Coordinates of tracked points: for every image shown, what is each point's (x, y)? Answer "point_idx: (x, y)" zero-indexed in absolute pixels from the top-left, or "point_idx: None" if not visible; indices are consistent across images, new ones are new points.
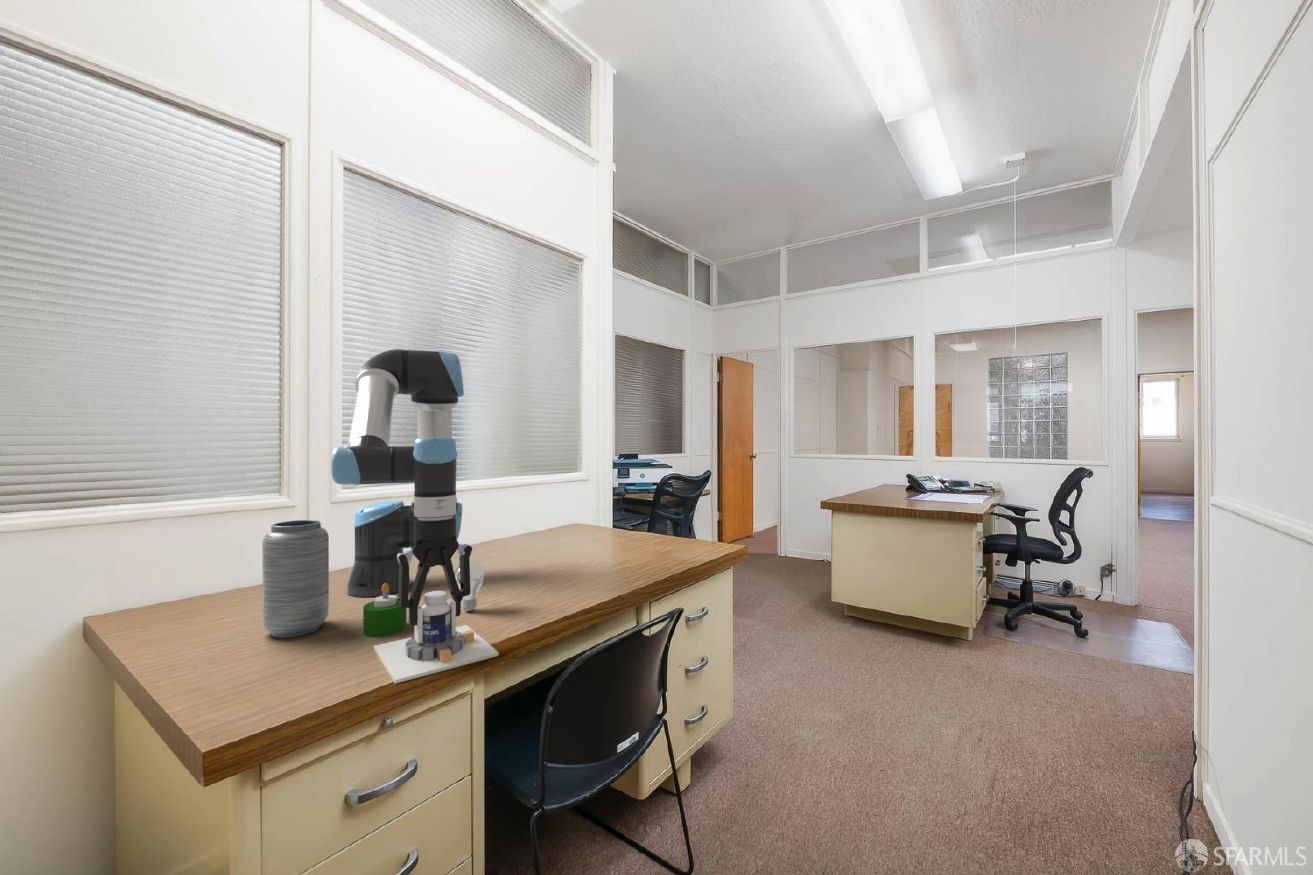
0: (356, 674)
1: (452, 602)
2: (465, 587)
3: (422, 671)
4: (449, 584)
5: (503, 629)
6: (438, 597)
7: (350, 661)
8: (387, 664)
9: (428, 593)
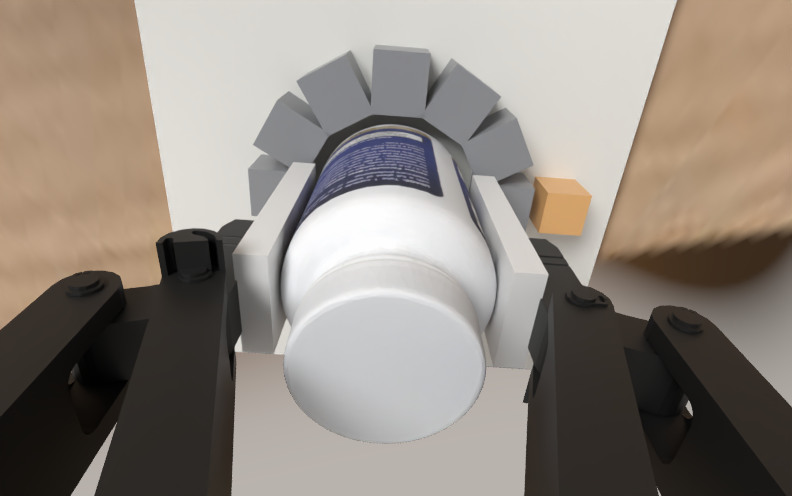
0: (63, 182)
1: (499, 365)
2: (649, 455)
3: (285, 346)
4: (537, 441)
5: (782, 128)
6: (379, 439)
7: (15, 2)
8: (176, 209)
9: (335, 328)
